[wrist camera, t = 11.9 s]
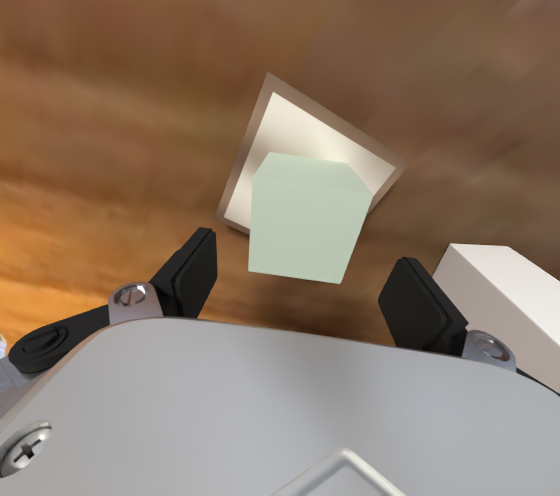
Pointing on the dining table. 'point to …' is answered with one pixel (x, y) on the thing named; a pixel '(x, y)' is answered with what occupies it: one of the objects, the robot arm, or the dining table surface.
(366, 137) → the plinth
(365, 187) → the block
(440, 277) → the milk
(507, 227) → the dining table surface
